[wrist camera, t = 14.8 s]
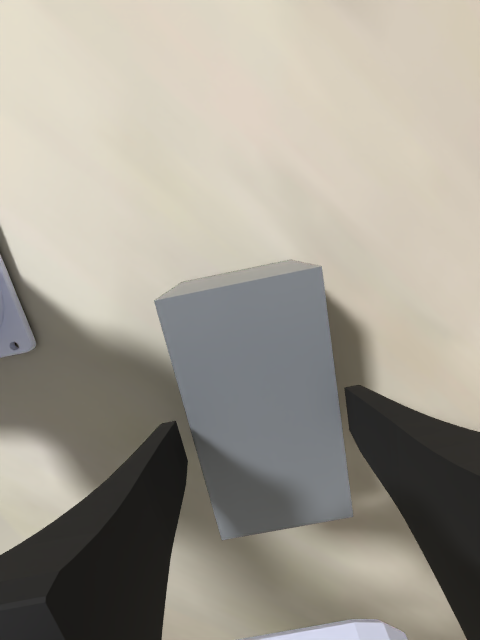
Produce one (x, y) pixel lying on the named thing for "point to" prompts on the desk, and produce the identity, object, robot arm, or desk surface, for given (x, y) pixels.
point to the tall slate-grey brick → (260, 395)
